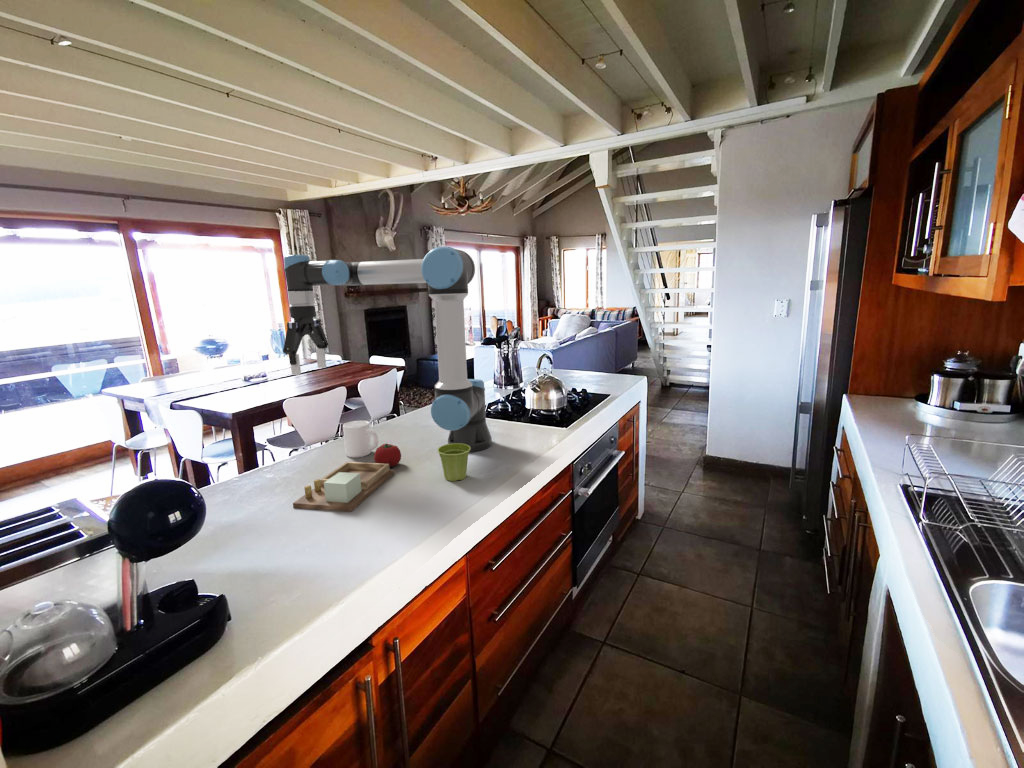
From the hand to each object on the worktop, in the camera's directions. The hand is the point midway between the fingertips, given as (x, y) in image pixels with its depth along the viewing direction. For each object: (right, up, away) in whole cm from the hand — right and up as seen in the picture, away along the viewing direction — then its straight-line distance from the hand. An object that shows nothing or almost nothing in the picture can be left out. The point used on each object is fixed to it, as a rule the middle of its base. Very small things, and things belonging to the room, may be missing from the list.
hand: (309, 371), depth 153 cm
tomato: (+28, -30, -9) cm, 42 cm away
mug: (+17, -28, +3) cm, 33 cm away
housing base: (+21, -33, -25) cm, 47 cm away
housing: (+23, -33, -32) cm, 52 cm away
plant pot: (+50, -31, -19) cm, 62 cm away
